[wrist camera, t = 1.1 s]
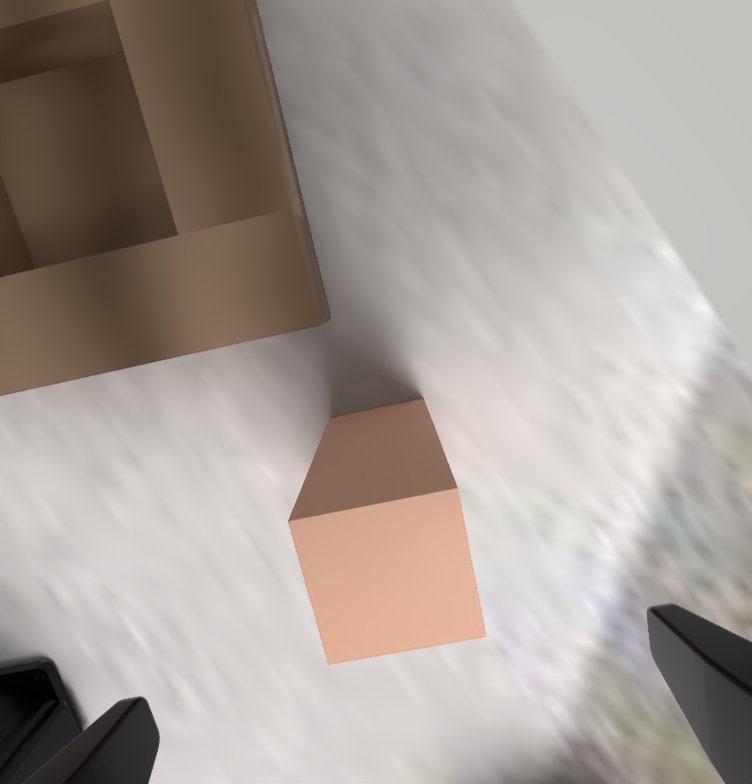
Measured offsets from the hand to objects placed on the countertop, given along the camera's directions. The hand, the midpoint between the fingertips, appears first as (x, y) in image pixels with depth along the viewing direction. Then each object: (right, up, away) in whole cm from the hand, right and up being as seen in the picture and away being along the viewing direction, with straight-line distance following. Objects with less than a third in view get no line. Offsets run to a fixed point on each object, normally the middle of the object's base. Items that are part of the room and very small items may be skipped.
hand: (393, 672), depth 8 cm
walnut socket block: (-10, +13, +9) cm, 19 cm away
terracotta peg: (0, +2, +12) cm, 12 cm away
